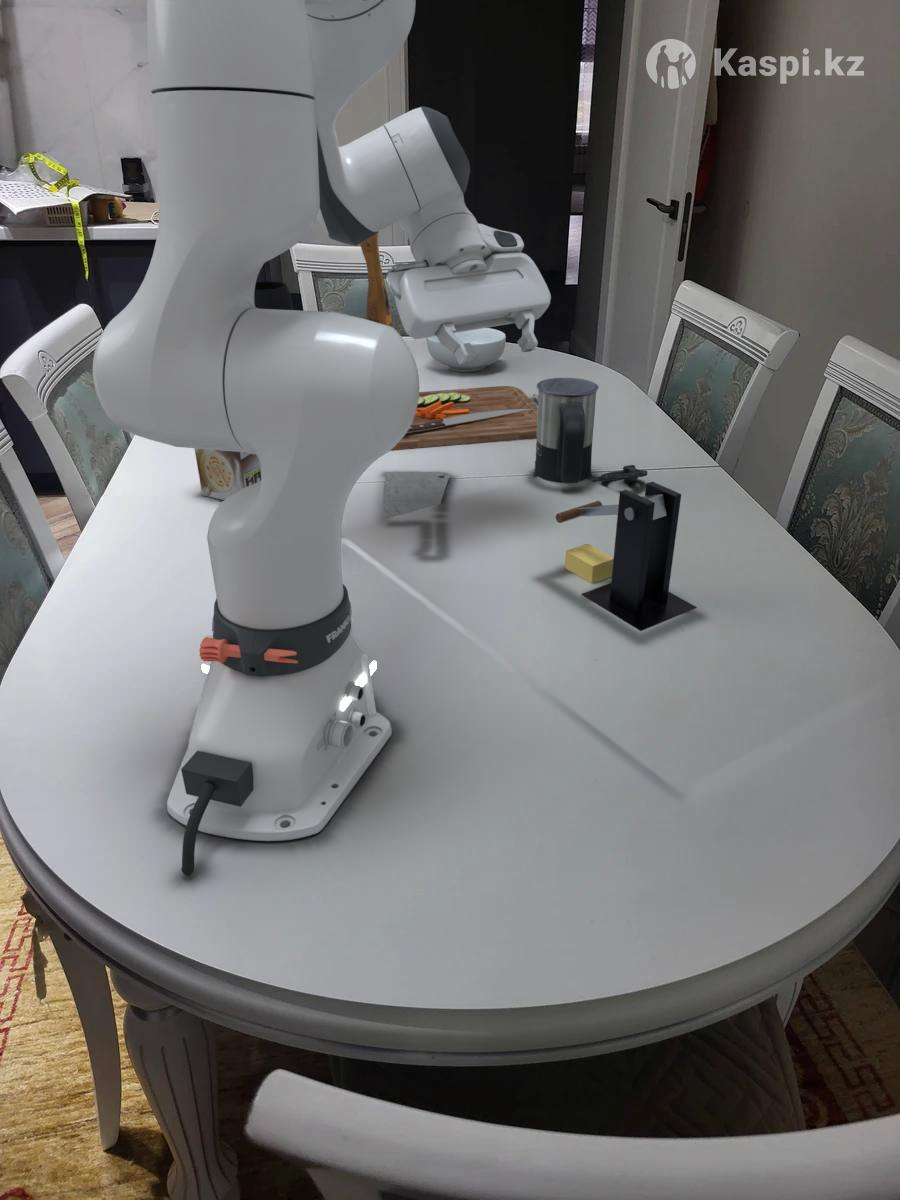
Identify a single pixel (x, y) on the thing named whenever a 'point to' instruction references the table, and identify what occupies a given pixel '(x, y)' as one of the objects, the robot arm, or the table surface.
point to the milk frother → (569, 433)
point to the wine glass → (272, 296)
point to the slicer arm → (609, 509)
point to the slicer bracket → (643, 562)
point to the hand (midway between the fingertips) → (500, 354)
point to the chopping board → (471, 417)
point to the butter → (589, 563)
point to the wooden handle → (375, 284)
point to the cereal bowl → (483, 343)
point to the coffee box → (226, 471)
